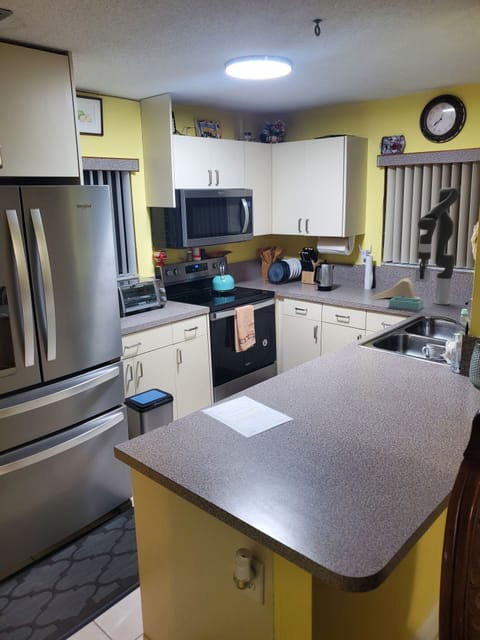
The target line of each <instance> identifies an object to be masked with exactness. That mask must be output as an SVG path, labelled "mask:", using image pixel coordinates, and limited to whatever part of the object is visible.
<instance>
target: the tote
mask: <svg viewBox="0 0 480 640" xmlns="http://www.w3.org/2000/svg"><path fill="white" fill-rule="evenodd" d="M423 307H424V299H422V298H420V299H414V298H405V297H403V296H401V297H391V299H389V301H388V309H396V310H397V309H398V310H405V311H415V312H418V311H420V310H421V309H422V308H423Z"/></svg>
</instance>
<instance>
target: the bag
mask: <svg viewBox="0 0 480 640" xmlns="http://www.w3.org/2000/svg"><path fill="white" fill-rule="evenodd" d="M394 297H403V298H414V299H421V297H420V296H416V294H415V288H414V284H413V282H412V281H411V279H409V278H408V277H405V278H402V279H400V280H399V281H398V282H397V283H396V284H395V285H394V286H392V287H390V288H388V289H387V290H385V291H382V292H379V293H376V294H374V295H372V296H369V299H371V300H381V299H387V298H394Z"/></svg>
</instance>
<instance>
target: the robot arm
mask: <svg viewBox="0 0 480 640" xmlns="http://www.w3.org/2000/svg"><path fill="white" fill-rule="evenodd" d="M459 194H460V192H459V189H458V188H456V187H443V188H440V189H439V191H438V196H437V197H438V199H437V201H438V204H436V205H434V206H433V207H432V208H431V209H430V210H429V211H428V213H427V214H425V215H423V216H422V217H421V218H420V219H419V220H418V222H417V227H418V229H419V230H421V231H427V232H425V233H422V234H420V237H419V245H418V250H417V251H418V252H417V259H419V260H420V262H419V267H420V269H419V272H420V279H424V270H425V269H426V268H428V263H429V261H428V260H431V258H432V247H433V246H432V241H433V235H434V233H435V231H436V228H437V245H436V250H435V251H436V253H435V265H436V267H437V268H441V269H443V271H441V272H438V273H436V279H435V291H434V292H435V293H434V300H433V301H434V302H433V303H434V304H437V305H449V304H450V296H451V287H452V286H451V285H452V278H453V273H454V267H455V255H453V254H451V253H445V250H446V249H445V248H446V245H447V244H448V242H449V241H450V240H451V238H452V236H453V234H454V221H453V219H452V217H451V216H450V214H449V212H448V209H449V208H450V207H452V205H453V204H455V203H456V202H457V201H458V199H459ZM437 222H438V224H437ZM437 225H438V226H437Z"/></svg>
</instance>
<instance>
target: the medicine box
mask: <svg viewBox="0 0 480 640" xmlns="http://www.w3.org/2000/svg"><path fill="white" fill-rule="evenodd" d="M419 269H420V266H417V267H415V274H414V275H415V276H414V281H415V282H418V283H419V282H421V283H430V281H431V272H432V270H431V267H427V268H426V269H425V270H424V279H420V272H419Z"/></svg>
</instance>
